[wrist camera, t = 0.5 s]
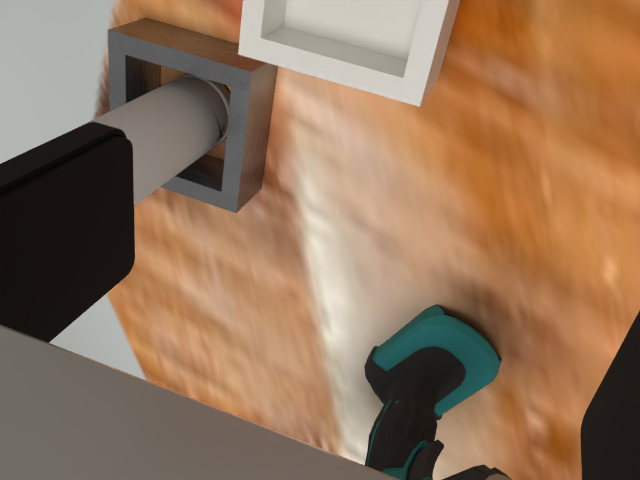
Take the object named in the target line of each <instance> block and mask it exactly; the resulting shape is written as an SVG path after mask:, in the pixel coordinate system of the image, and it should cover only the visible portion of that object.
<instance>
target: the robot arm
mask: <svg viewBox="0 0 640 480" xmlns="http://www.w3.org/2000/svg"><path fill="white" fill-rule="evenodd" d="M134 260H135V240H134V182H133V146H132V143H131V141H130V140H129V139H127V137H126V135H125V132H124V131H123V130H121V129H118V128H115V127H111V126H108V125H104V124H101V123H97V122H94V121H93V122H89V123H87V124H85V125H83V126H80V127H78V128H76V129H74V130H72V131H70V132H68V133H66V134H63V135H61V136H59V137H57V138H55V139H53V140H51V141H49V142H46V143H44V144H42V145H40V146H38V147H35V148H33V149H31V150H29V151H27V152H25V153H23V154H21V155H18V156H16V157H14V158H12V159H10V160H8V161H6V162H3V163H1V164H0V480H400V479H398V478H395V477H393V476H390V475H387V474H385V473H382V472H380V471H377V470H375V469H372V468H370V467H367V466H365V465H362V464H359V463H357V462H354V461H352V460H349V459H347V458H344V457H342V456H339V455H337V454H334V453H331V452H329V451H326V450H324V449H321V448H319V447H316V446H314V445H311V444H309V443H306V442H304V441H301V440H298V439H296V438H293V437H291V436H288V435H286V434H283V433H280V432H278V431H275V430H273V429H270V428H268V427H265V426H262V425H260V424H257V423H255V422H252V421H250V420H247V419H244V418H242V417H239V416H237V415H234V414H232V413H229V412H226V411H224V410H221V409H219V408H216V407H213V406H211V405H208V404H206V403H203V402H201V401H198V400H195V399H193V398H190V397H188V396H185V395H182V394H180V393H177V392H175V391H172V390H170V389H167V388H164V387H162V386H159V385H157V384H154V383H151V382H149V381H146V380H144V379H141V378H138V377H136V376H133V375H131V374H128V373H125V372H123V371H120V370H118V369H115V368H112V367H110V366H107V365H105V364H102V363H99V362H97V361H94V360H92V359H89V358H86V357H84V356H81V355H79V354H76V353H73V352H71V351H68V350H66V349H63V348H60V347H58V346H55V345H52V344H50V343H49V342H50V341H51V340H52V339H53V338H54V337H56V336H57V335H58V334H59V333H61V332H62V331H63V330H64V329H65V328H66V327H68V326H69V325H70V324H71V323H72V322H73V321H74V320H76V319H77V318H78V317H79V316H80V315H81V314H83V313H84V312H85V311H86V310H87V309H89V308H90V307H91V306H92V305H93V304H94V303H95V302H97V301H98V300H99V299H100V298H101V297H103V296H104V295H105V294H106V293H107V292H108V291H110V290H111V289H112V288H113V287H114V286H115V285H117V284H118V283H119V282H120V281H121V280H122V279H124V278H125V277H126V276H127V275H128V274H129V272H130V271H131V269H132V267H133V264H134ZM581 460H582V480H640V311H639V313H638V315H637V317H636V319H635V320H634V322H633V324H632V326H631V328H630V330H629V332H628V334H627V335H626V337H625V339H624V341H623V343H622V345H621V347H620V349H619V350H618V352H617V354H616V356H615V358H614V360H613V362H612V364H611V365H610V367H609V369H608V371H607V373H606V375H605V377H604V379H603V380H602V382H601V384H600V386H599V388H598V390H597V392H596V394H595V395H594V397H593V399H592V401H591V403H590V405H589V407H588V409H587V410H586V413H585V415H584V418H583V421H582V426H581Z"/></svg>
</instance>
